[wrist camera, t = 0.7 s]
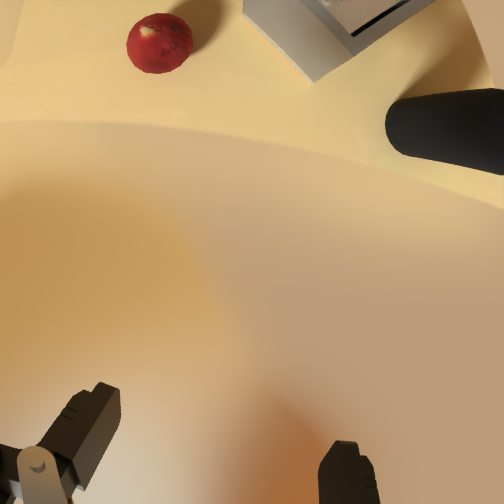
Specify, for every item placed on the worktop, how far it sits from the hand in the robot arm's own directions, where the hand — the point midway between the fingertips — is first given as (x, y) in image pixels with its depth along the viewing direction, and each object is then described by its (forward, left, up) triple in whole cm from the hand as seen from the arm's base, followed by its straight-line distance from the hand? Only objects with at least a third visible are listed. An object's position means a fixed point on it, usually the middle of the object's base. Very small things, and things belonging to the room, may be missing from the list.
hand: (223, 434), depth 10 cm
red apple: (-18, +8, -25) cm, 31 cm away
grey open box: (-11, +21, -24) cm, 34 cm away
